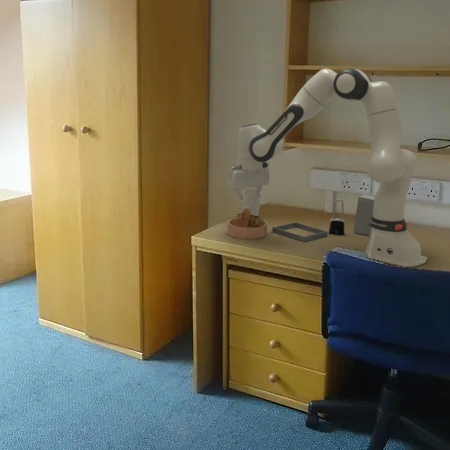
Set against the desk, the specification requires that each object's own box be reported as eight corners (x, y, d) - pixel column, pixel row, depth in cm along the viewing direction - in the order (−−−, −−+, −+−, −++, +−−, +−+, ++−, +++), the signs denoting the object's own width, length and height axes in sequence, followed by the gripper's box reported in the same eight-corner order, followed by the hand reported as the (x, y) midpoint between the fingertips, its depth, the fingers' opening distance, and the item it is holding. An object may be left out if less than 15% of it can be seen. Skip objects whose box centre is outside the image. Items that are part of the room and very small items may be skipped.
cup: (245, 217, 268) (245, 184, 264) (262, 219, 265) (263, 185, 261) (239, 221, 260) (240, 187, 256) (257, 223, 257) (258, 189, 253)
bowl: (274, 234, 242) (274, 223, 241) (245, 240, 232) (245, 230, 231) (248, 225, 254) (248, 215, 253) (219, 231, 244) (219, 221, 243)
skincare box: (353, 232, 246) (356, 196, 242) (361, 229, 251) (364, 193, 247) (371, 236, 241) (375, 199, 236) (379, 233, 246) (382, 196, 242)
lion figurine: (260, 236, 241) (267, 219, 237) (250, 237, 238) (257, 220, 233) (241, 214, 250) (248, 197, 245) (231, 215, 247) (238, 198, 242)
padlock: (328, 234, 243) (330, 199, 239) (328, 231, 247) (331, 197, 243) (344, 235, 242) (347, 200, 238) (344, 233, 246) (347, 198, 242)
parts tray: (327, 236, 241) (327, 231, 240) (303, 242, 232) (304, 237, 231) (295, 226, 254) (295, 222, 254) (272, 231, 245) (272, 227, 245)
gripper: (234, 168, 226) (234, 202, 230) (272, 163, 239) (271, 196, 242) (224, 166, 231) (224, 200, 234) (261, 161, 244) (261, 193, 247)
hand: (248, 198), depth 239 cm, fingers open, 8 cm apart
